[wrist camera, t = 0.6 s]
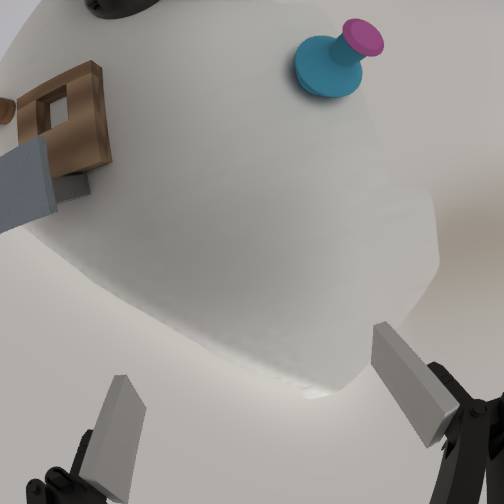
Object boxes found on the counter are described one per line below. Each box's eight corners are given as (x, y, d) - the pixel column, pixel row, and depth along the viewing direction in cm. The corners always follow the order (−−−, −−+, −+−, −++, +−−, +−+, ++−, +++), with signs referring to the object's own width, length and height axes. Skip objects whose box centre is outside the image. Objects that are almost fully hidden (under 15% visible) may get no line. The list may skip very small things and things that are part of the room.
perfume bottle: (352, 61, 32) (406, 24, 18) (342, 112, 35) (401, 90, 20) (294, 40, 31) (328, -13, 17) (280, 92, 33) (314, 52, 19)
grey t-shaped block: (45, 169, 32) (-33, 179, 16) (109, 144, 33) (38, 135, 16) (54, 213, 34) (-21, 242, 18) (118, 192, 35) (50, 213, 19)
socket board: (30, 102, 28) (16, 99, 25) (101, 68, 29) (91, 60, 25) (39, 188, 33) (24, 191, 29) (112, 161, 34) (100, 161, 30)
